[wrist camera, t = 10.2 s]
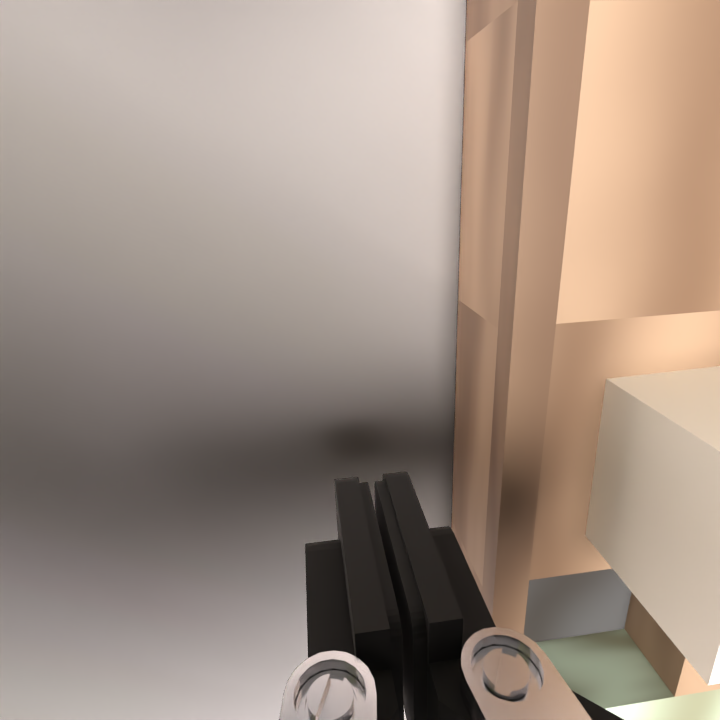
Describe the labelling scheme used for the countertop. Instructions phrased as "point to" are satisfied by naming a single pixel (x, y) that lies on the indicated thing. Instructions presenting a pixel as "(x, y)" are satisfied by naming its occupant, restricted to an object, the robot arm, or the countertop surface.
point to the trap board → (579, 308)
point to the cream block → (664, 503)
